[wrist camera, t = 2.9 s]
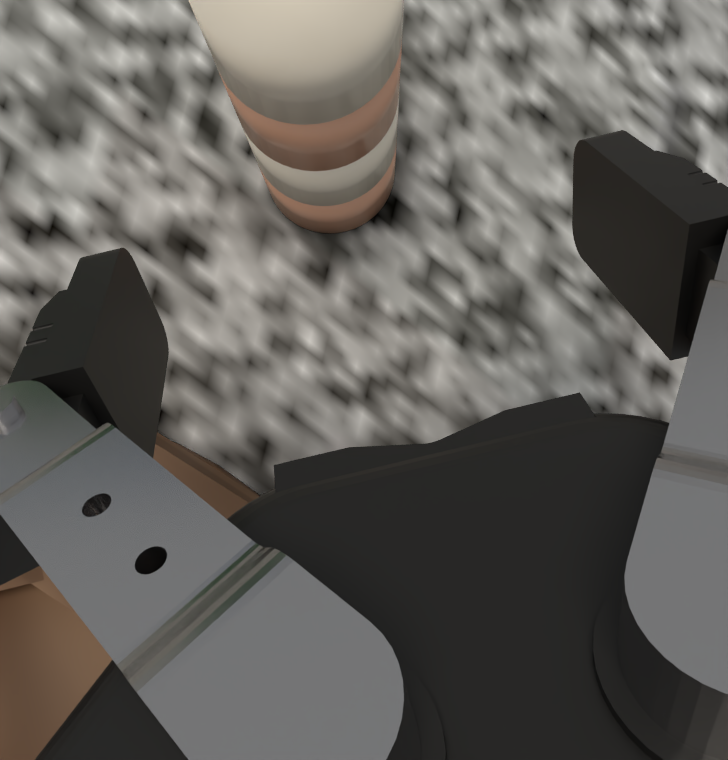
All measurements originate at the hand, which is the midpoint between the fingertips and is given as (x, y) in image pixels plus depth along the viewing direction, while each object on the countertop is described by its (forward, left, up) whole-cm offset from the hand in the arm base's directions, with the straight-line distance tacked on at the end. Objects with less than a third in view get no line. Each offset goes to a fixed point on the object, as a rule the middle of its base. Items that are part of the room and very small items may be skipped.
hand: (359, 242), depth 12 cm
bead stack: (0, +6, -10) cm, 12 cm away
